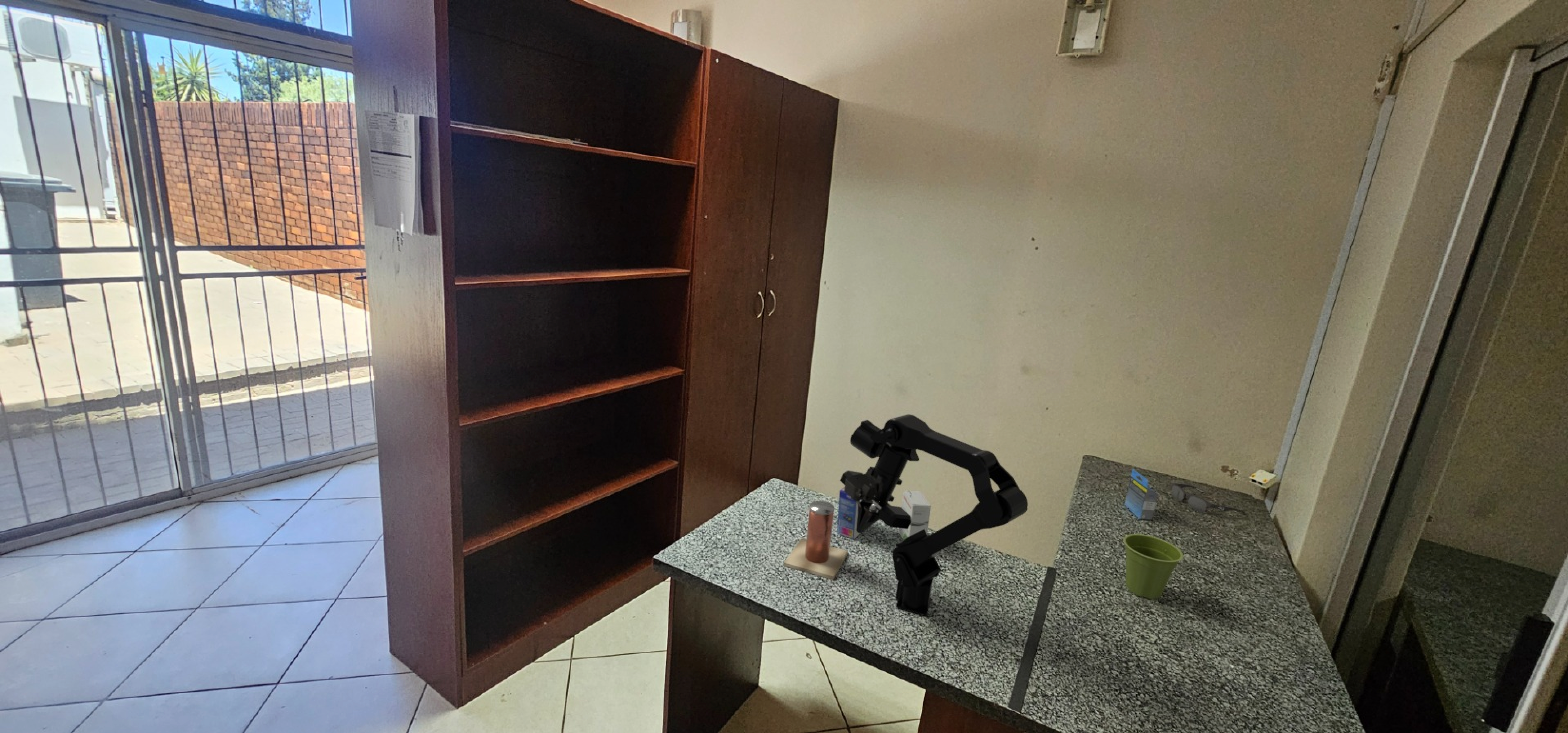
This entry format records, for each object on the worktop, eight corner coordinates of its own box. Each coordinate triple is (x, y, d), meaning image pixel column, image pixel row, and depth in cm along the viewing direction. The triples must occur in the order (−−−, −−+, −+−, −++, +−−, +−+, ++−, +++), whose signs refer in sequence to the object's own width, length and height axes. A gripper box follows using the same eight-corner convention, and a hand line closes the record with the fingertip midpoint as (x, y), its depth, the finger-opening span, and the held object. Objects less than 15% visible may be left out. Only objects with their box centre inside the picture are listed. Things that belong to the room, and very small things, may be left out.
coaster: (847, 553, 147) (847, 550, 147) (833, 579, 136) (833, 576, 136) (800, 541, 151) (801, 538, 151) (783, 565, 140) (783, 562, 140)
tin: (831, 553, 145) (837, 504, 142) (824, 566, 140) (830, 515, 136) (809, 547, 147) (814, 498, 144) (801, 559, 142) (806, 509, 138)
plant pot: (1122, 569, 149) (1132, 528, 146) (1178, 593, 141) (1189, 549, 138) (1106, 587, 141) (1116, 544, 138) (1163, 613, 133) (1175, 567, 130)
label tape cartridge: (1152, 520, 177) (1162, 481, 174) (1139, 519, 177) (1148, 480, 174) (1136, 506, 185) (1144, 468, 182) (1123, 505, 185) (1131, 467, 182)
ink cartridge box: (851, 518, 165) (857, 468, 161) (870, 525, 162) (876, 474, 158) (834, 533, 156) (839, 481, 153) (853, 540, 154) (859, 487, 150)
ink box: (926, 548, 152) (932, 505, 149) (906, 548, 152) (912, 505, 149) (915, 531, 160) (921, 490, 158) (897, 530, 160) (902, 489, 157)
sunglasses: (1160, 494, 196) (1165, 479, 195) (1200, 497, 201) (1205, 483, 200) (1205, 519, 181) (1211, 503, 180) (1248, 522, 185) (1253, 507, 184)
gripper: (836, 443, 133) (808, 505, 136) (888, 488, 118) (855, 557, 121) (873, 450, 139) (845, 509, 142) (926, 494, 124) (894, 559, 127)
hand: (858, 532), depth 133 cm, fingers closed
